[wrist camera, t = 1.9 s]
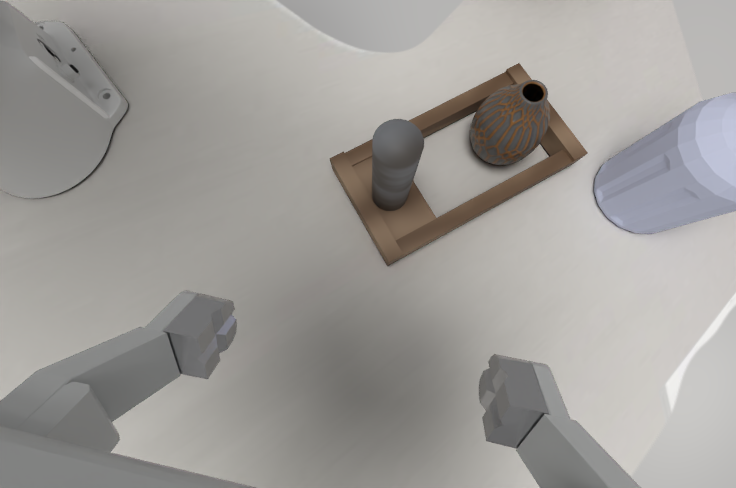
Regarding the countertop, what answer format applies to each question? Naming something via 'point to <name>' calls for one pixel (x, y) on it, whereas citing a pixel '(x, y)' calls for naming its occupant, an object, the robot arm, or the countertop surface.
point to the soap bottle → (674, 171)
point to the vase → (511, 123)
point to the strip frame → (399, 163)
